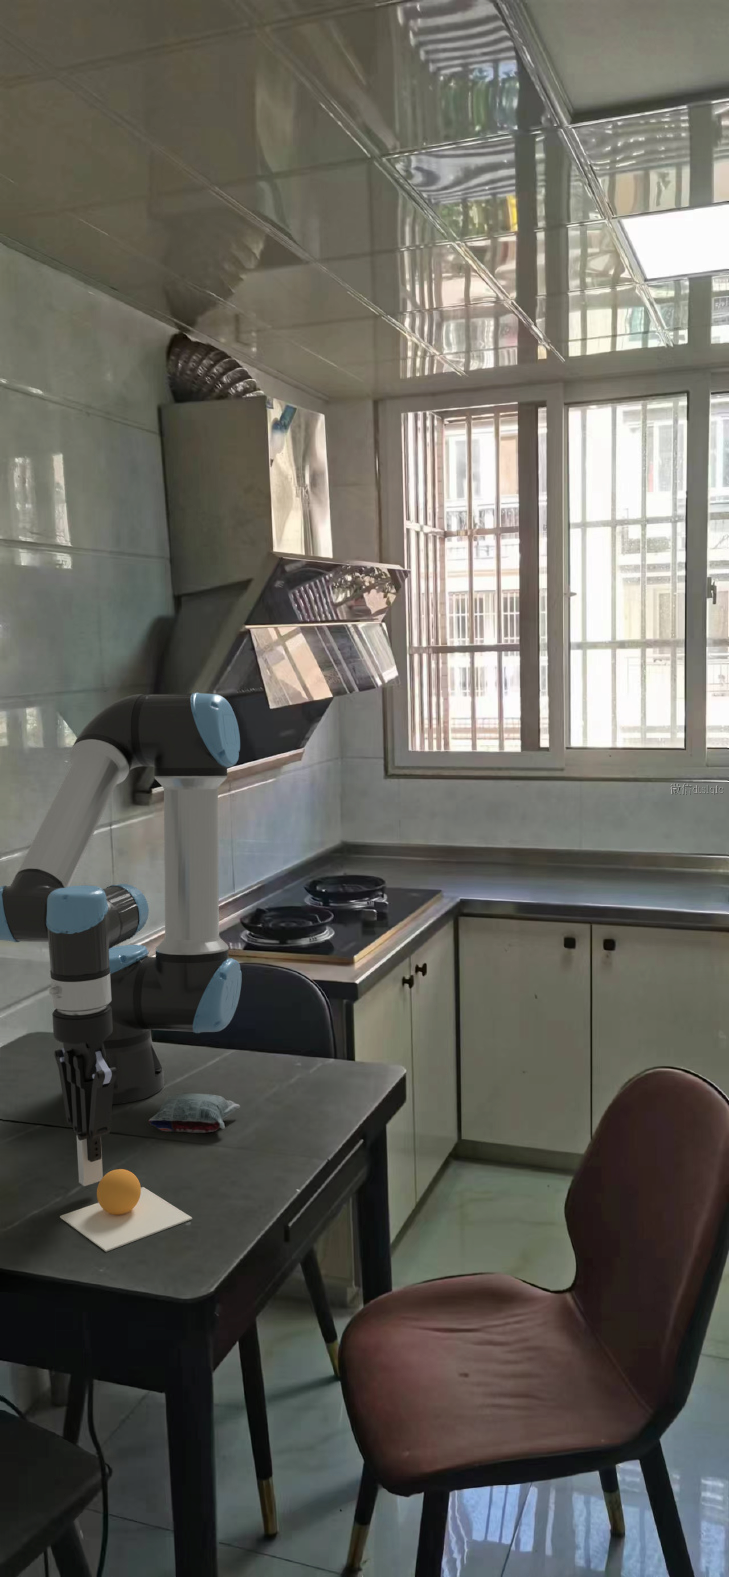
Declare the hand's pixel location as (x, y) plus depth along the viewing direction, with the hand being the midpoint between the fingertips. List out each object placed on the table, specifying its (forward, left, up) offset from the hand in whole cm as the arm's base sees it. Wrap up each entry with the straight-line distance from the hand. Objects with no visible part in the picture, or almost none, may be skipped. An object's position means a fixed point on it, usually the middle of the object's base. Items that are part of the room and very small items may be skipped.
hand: (91, 1181), depth 156 cm
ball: (+7, 0, +1) cm, 7 cm away
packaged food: (-11, +23, -2) cm, 25 cm away
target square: (+9, 0, -2) cm, 9 cm away
